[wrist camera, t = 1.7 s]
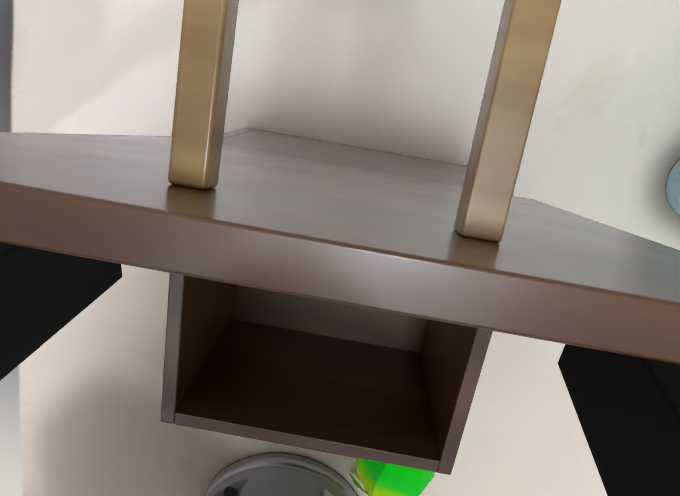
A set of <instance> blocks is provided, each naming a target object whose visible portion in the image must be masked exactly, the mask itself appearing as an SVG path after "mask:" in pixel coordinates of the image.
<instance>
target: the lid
mask: <svg viewBox="0 0 680 496" xmlns="http://www.w3.org/2000/svg"><path fill="white" fill-rule="evenodd" d="M238 2H239V0H184V9H183V20H182V30H181V41H180V52H179V63H178V74H177V85H176V96H175V107H174V118H173V129H172V136H132V135H91V134H50V133H8V132H0V242H2V243H8V244H13V245H19V246H24V247H30V248H35V249H41V250H47V251H52V252H58V253H63V254H69V255H74V256H80V257H85V258H91V259H97V260H102V261H108V262H113V263H119V264H124V265H130V266H135V267H141V268H147V269H152V270H158V271H163V272H169V273H174V274H180V275H186V276H191V277H197V278H202V279H208V280H213V281H219V282H224V283H230V284H236V285H241V286H247V287H252V288H258V289H263V290H269V291H274V292H280V293H286V294H291V295H297V296H302V297H308V298H313V299H319V300H324V301H330V302H336V303H341V304H347V305H352V306H358V307H363V308H369V309H374V310H380V311H386V312H391V313H397V314H402V315H408V316H413V317H419V318H424V319H430V320H436V321H441V322H447V323H452V324H458V325H463V326H469V327H475V328H480V329H486V330H491V331H497V332H502V333H508V334H513V335H519V336H525V337H530V338H536V339H541V340H547V341H552V342H558V343H563V344H569V345H575V346H580V347H586V348H591V349H597V350H602V351H608V352H613V353H619V354H625V355H630V356H636V357H641V358H647V359H652V360H658V361H663V362H669V363H675V364H680V250H677V249H674V248H671V247H668V246H665V245H662V244H660V243H657V242H654V241H651V240H648V239H645V238H642V237H639V236H637V235H634V234H631V233H628V232H625V231H622V230H619V229H616V228H614V227H611V226H608V225H605V224H602V223H599V222H596V221H593V220H591V219H588V218H585V217H582V216H579V215H576V214H573V213H571V212H568V211H565V210H562V209H559V208H556V207H553V206H550V205H548V204H545V203H542V202H539V201H536V200H532V199H527V198H521V197H515V196H513V192H514V188H515V184H516V180H517V176H518V172H519V168H520V164H521V160H522V156H523V152H524V148H525V144H526V140H527V136H528V132H529V128H530V124H531V120H532V116H533V112H534V108H535V104H536V100H537V96H538V92H539V88H540V84H541V80H542V76H543V72H544V68H545V64H546V60H547V56H548V52H549V48H550V44H551V40H552V36H553V32H554V28H555V24H556V20H557V16H558V12H559V8H560V4H561V0H505V2H504V7H503V11H502V16H501V20H500V25H499V29H498V33H497V38H496V42H495V47H494V51H493V55H492V60H491V64H490V69H489V73H488V77H487V82H486V86H485V91H484V95H483V100H482V104H481V108H480V113H479V117H478V122H477V126H476V130H475V135H474V139H473V144H472V148H471V152H470V157H469V161H468V166H467V170H466V175H465V179H464V183H463V187H459V186H453V185H447V184H442V183H436V182H430V181H425V180H419V179H413V178H407V177H402V176H396V175H390V174H385V173H379V172H373V171H368V170H362V169H356V168H351V167H345V166H339V165H334V164H328V163H322V162H317V161H311V160H305V159H300V158H294V157H288V156H283V155H277V154H271V153H265V152H260V151H254V150H248V149H243V148H237V147H231V146H226V145H222V143H223V134H224V125H225V116H226V107H227V99H228V90H229V81H230V72H231V64H232V55H233V46H234V37H235V29H236V20H237V11H238Z"/></svg>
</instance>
